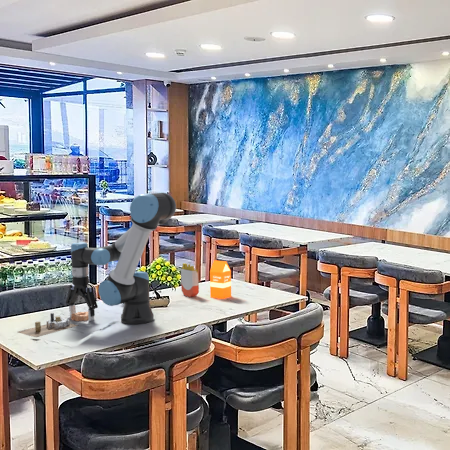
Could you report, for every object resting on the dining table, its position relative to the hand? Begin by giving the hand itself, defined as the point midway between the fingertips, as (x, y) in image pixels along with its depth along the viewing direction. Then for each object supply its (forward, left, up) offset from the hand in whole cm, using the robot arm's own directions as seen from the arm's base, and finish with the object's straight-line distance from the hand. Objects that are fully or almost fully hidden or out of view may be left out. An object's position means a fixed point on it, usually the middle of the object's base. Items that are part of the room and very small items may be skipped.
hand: (82, 321), depth 268 cm
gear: (-2, +15, +1) cm, 15 cm away
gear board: (-2, +20, 0) cm, 20 cm away
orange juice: (-22, -77, 0) cm, 80 cm away
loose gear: (0, 0, 0) cm, 0 cm away
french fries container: (-6, -70, 0) cm, 70 cm away
